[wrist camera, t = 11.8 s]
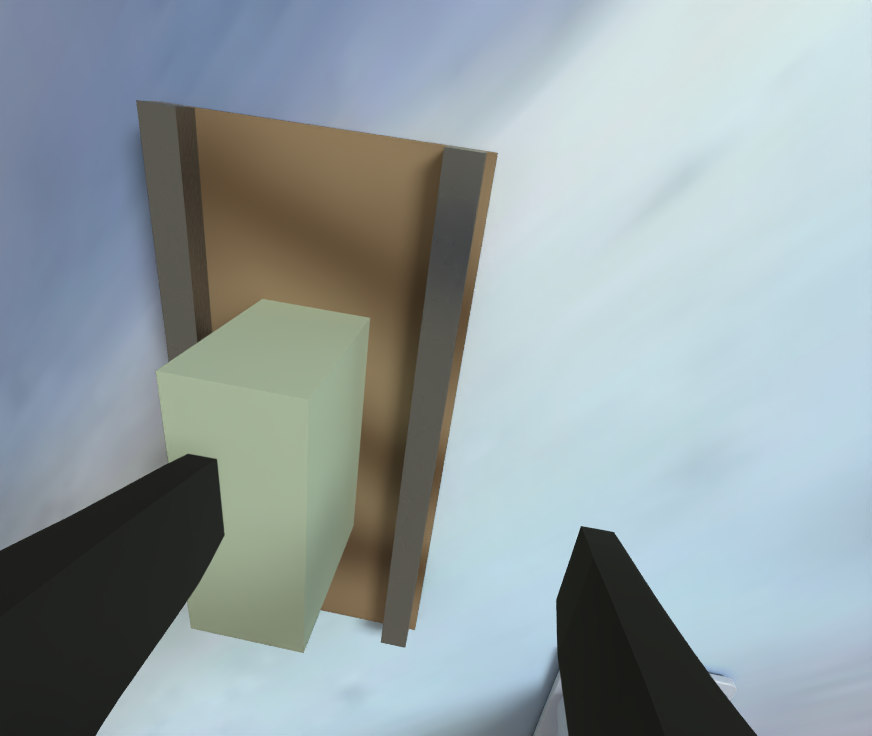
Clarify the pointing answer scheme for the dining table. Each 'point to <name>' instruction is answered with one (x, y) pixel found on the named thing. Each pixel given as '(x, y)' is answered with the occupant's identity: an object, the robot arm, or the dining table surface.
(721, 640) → the dining table surface
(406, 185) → the floor track
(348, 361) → the pale green block
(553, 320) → the dining table surface
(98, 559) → the robot arm
